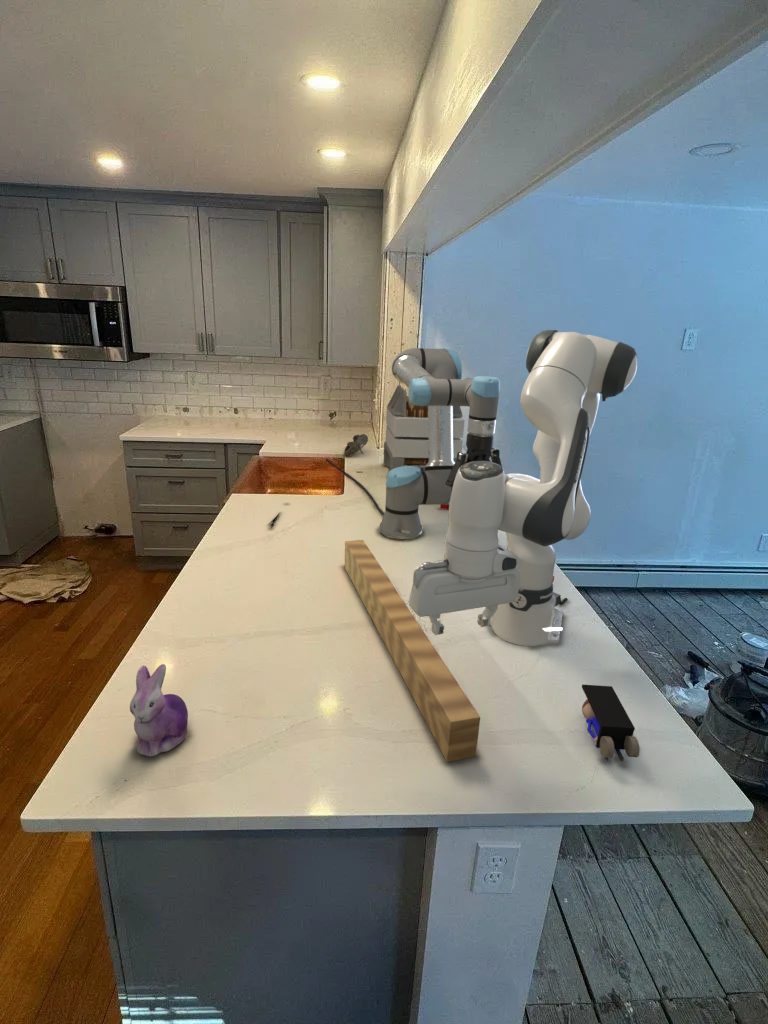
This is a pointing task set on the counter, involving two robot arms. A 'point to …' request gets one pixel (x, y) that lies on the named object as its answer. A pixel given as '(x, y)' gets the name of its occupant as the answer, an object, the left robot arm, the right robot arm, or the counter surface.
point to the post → (415, 657)
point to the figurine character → (609, 722)
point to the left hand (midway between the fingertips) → (473, 506)
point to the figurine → (157, 714)
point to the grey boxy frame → (413, 432)
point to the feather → (273, 520)
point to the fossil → (356, 445)
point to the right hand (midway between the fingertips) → (460, 628)
